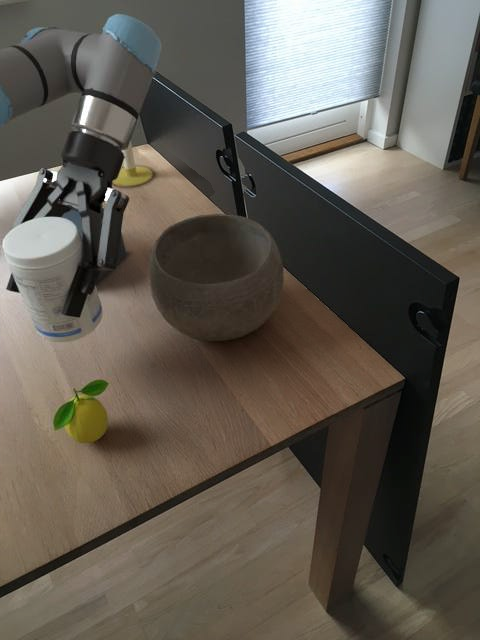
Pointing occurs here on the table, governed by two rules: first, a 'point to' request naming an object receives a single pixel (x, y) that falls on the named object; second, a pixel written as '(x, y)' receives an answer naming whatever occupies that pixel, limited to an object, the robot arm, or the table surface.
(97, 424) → the lemon
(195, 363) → the table surface
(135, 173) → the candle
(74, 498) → the table surface
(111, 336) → the table surface
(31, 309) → the supplement tub
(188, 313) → the bowl
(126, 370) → the table surface
